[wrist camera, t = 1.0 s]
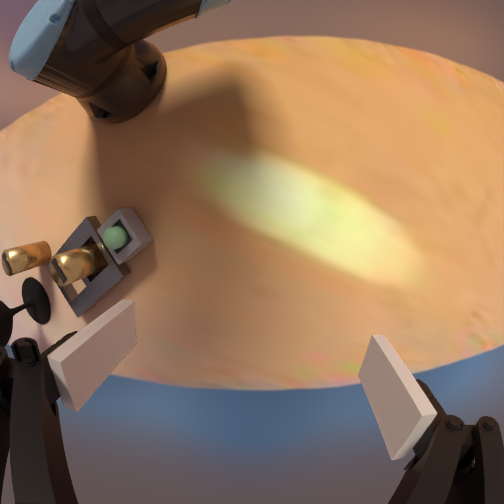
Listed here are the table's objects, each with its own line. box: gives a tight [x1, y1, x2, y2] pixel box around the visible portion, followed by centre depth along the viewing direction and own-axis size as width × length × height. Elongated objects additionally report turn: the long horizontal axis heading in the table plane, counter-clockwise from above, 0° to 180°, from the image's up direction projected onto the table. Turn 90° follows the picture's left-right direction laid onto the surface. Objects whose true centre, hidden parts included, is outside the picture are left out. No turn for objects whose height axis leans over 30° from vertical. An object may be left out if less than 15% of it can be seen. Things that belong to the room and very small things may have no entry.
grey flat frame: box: [47, 216, 131, 317], centre depth 38 cm, size 11×14×2 cm
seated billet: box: [50, 244, 108, 286], centre depth 34 cm, size 4×4×10 cm
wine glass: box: [0, 277, 51, 347], centre depth 33 cm, size 10×10×20 cm
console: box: [97, 208, 153, 265], centre depth 36 cm, size 6×5×4 cm
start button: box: [103, 226, 128, 250], centre depth 33 cm, size 3×3×2 cm
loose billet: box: [2, 241, 51, 276], centre depth 35 cm, size 4×4×10 cm
